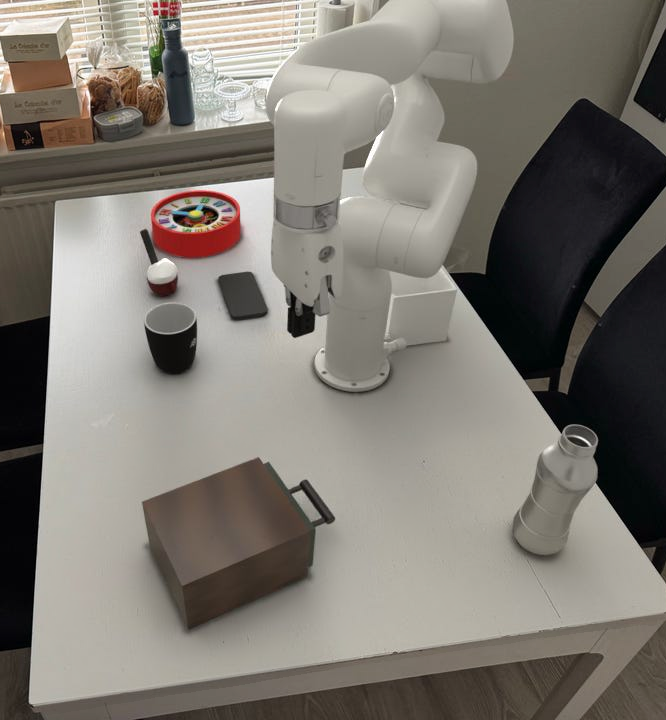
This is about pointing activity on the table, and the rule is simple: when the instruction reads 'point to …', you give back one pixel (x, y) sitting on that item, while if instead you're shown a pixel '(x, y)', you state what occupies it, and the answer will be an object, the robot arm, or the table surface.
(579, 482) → the silver metal bottle
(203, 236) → the toy clock
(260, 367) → the table surface
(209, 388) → the table surface
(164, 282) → the cocoa
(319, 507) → the wooden drawer
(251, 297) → the phone
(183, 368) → the mug
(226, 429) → the table surface
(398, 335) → the storage container
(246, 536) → the cabinet
